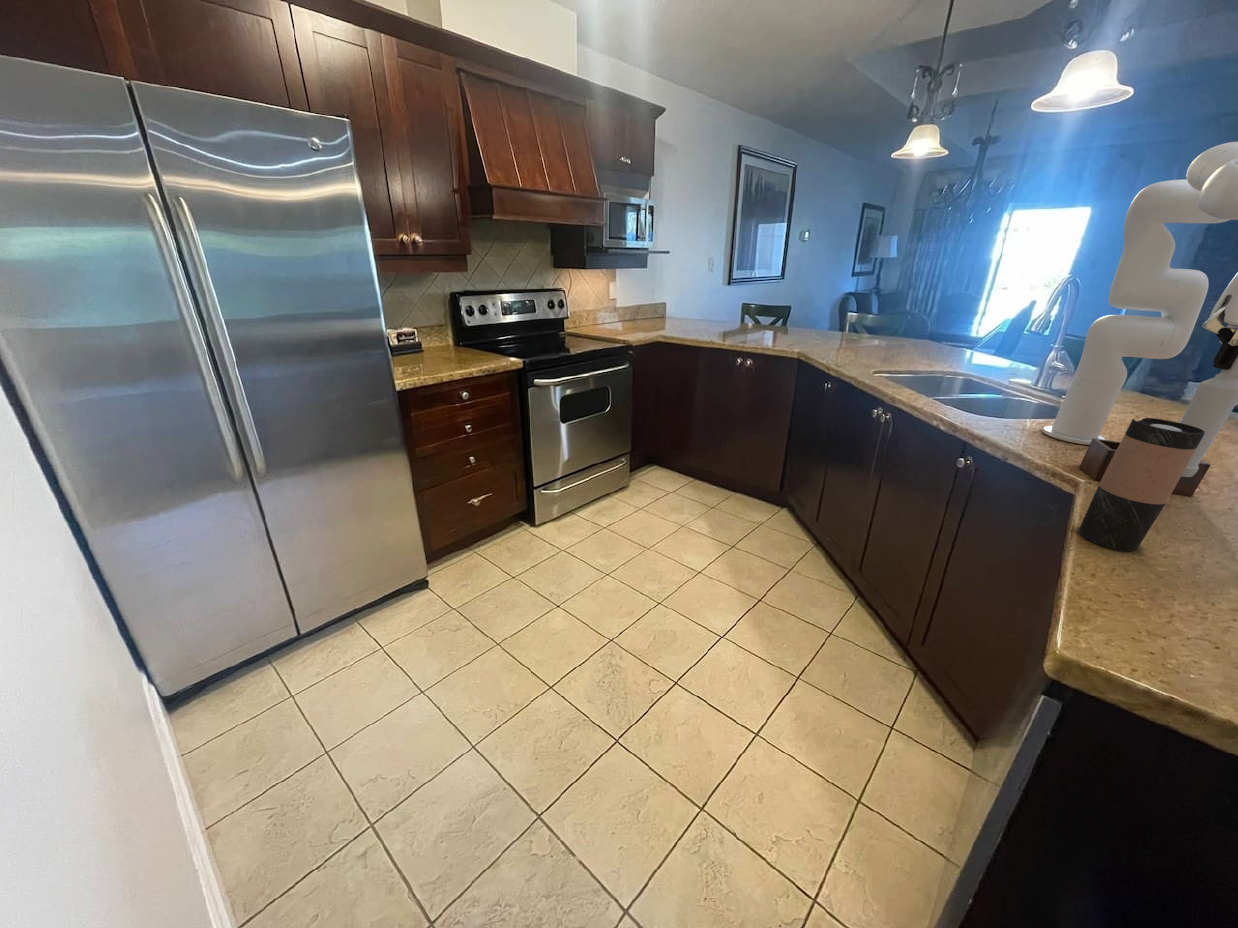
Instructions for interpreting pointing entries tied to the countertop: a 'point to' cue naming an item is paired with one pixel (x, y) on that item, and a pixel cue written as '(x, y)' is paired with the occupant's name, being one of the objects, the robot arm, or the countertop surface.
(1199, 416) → the bottle
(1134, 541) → the travel mug
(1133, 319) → the robot arm
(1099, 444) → the dark brown box
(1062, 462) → the countertop surface
